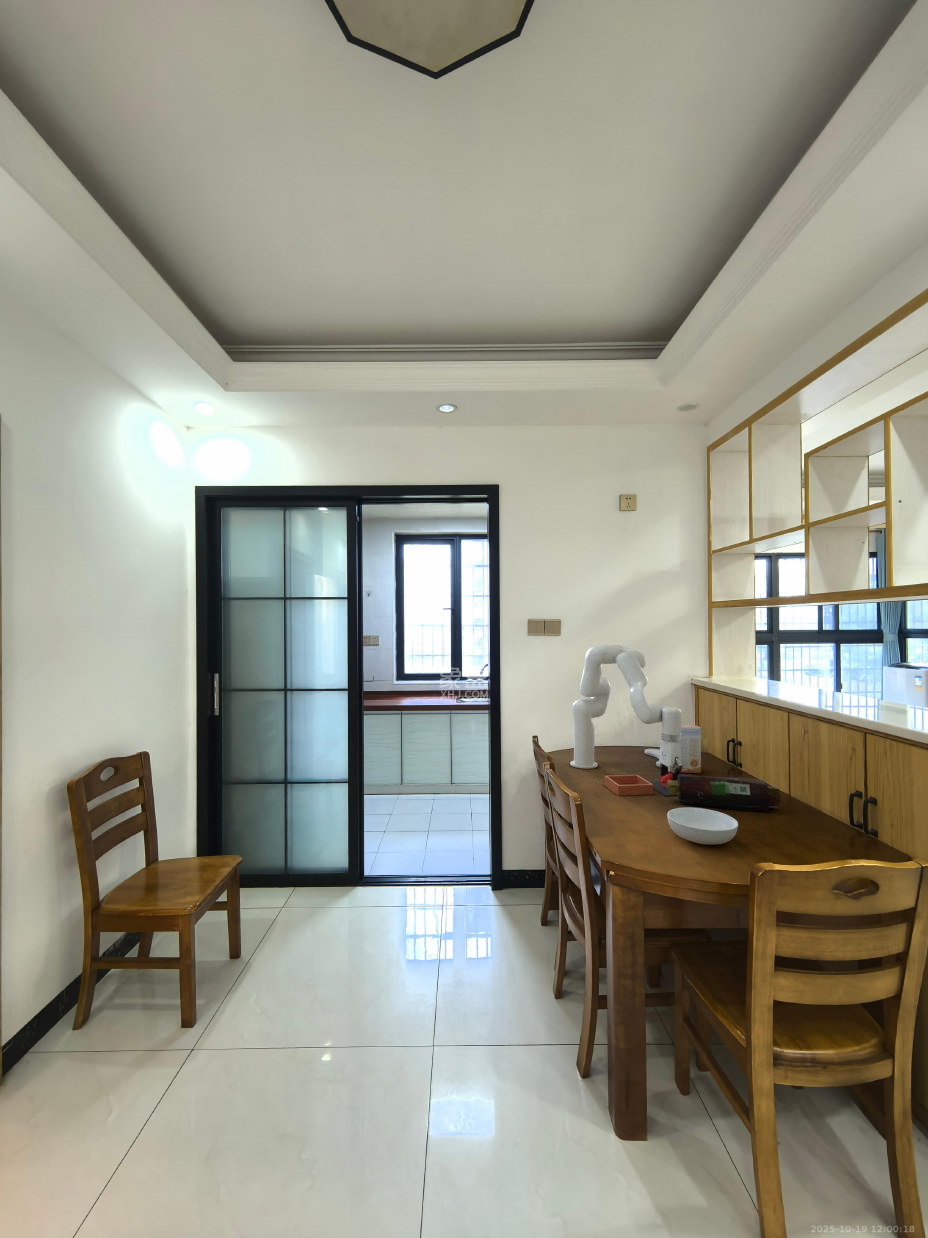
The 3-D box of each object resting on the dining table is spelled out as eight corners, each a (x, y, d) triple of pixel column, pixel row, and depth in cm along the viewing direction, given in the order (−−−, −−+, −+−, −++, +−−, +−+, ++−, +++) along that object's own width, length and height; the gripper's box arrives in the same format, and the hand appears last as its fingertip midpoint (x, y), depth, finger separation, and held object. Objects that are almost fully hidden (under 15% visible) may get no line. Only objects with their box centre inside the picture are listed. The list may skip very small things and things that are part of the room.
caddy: (604, 785, 247) (604, 775, 247) (637, 784, 249) (637, 774, 249) (618, 795, 232) (618, 785, 232) (653, 794, 234) (653, 784, 234)
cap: (663, 790, 239) (663, 775, 239) (659, 786, 245) (659, 771, 245) (683, 790, 239) (683, 775, 239) (678, 786, 245) (678, 771, 245)
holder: (658, 769, 274) (659, 758, 274) (642, 752, 308) (643, 742, 308) (701, 770, 272) (701, 759, 272) (680, 753, 306) (680, 743, 306)
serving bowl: (702, 857, 174) (702, 833, 174) (653, 832, 193) (653, 811, 193) (753, 846, 182) (753, 824, 182) (701, 824, 201) (701, 804, 201)
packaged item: (668, 804, 222) (668, 778, 221) (665, 797, 231) (666, 771, 231) (782, 814, 212) (783, 786, 212) (775, 805, 222) (775, 779, 222)
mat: (645, 783, 250) (645, 782, 250) (676, 782, 252) (676, 781, 252) (665, 796, 232) (665, 795, 232) (698, 795, 234) (698, 794, 234)
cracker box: (697, 770, 272) (697, 725, 272) (701, 774, 266) (701, 727, 266) (665, 769, 273) (666, 724, 273) (669, 772, 267) (669, 726, 267)
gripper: (652, 733, 250) (651, 773, 251) (672, 742, 233) (671, 786, 233) (669, 733, 251) (668, 773, 252) (690, 742, 234) (689, 785, 235)
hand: (669, 779), depth 243 cm, fingers open, 9 cm apart
